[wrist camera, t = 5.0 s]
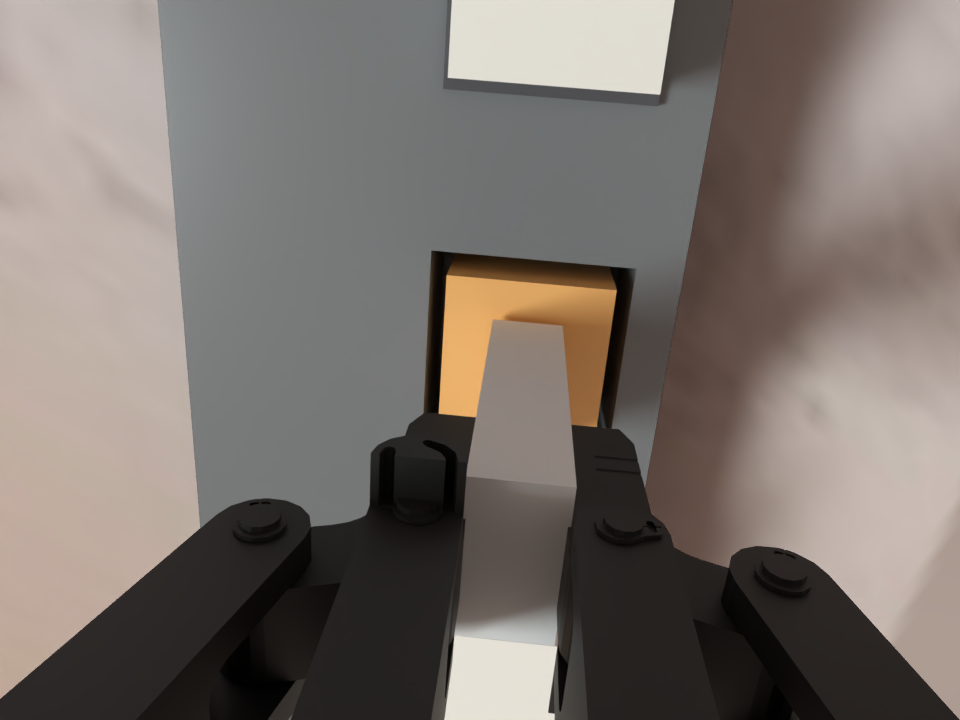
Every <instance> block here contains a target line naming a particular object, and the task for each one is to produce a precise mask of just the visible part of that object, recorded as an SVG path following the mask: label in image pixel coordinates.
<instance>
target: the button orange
mask: <svg viewBox="0 0 960 720" xmlns="http://www.w3.org/2000/svg"><path fill="white" fill-rule="evenodd" d="M616 293H617V290H616V286H615V283H614V280H613V277H612V274H611V271H610V267H609V266H600V265H589V264H578V263H566V262H555V261H544V260H533V259H521V258H510V257H499V256H488V255H477V254H465V253H455V256H454V258H453V261H452V263H451V266H450V268H449V271H448V273H447V278H446V295H445V312H444V330H443V347H442V365H441V382H440V400H439V414H447V415H457V416H467V417H476V414H477V408H478V403H479V397H480V391H481V385H482V379H483V374H484V368H485V362H486V356H487V351H488V345H489V339H490V333H491V328H492V322H493V319H496V320H507V321H518V322H529V323H540V324H550V325H561V326H563V335H564V347H565V358H566V370H567V381H568V393H569V404H570V416H571V425H581V426H591V427H597V422H598V415H599V408H600V401H601V395H602V388H603V381H604V374H605V367H606V361H607V354H608V347H609V340H610V333H611V327H612V320H613V313H614V306H615V299H616Z"/></svg>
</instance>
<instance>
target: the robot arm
mask: <svg viewBox="0 0 960 720" xmlns="http://www.w3.org/2000/svg"><path fill="white" fill-rule="evenodd" d="M556 632H557V636H558V645H557V652H556V659H555V667H554V674H553V681H552V688H551V695H550V702H549V709H548V713H552V714H555V720H959V719H958V718H957V716H956V715H955V714H954V713H953V712H952V711H951V710H950V709H949V708H948V707H947V706H946V704H945V703H944V702H943V701H942V700H941V699H940V698H939V697H938V695H937V694H936V693H935V692H934V691H933V690H932V689H931V688H930V687H929V686H928V684H927V683H926V682H925V681H924V680H923V679H922V678H921V677H920V676H919V674H918V673H917V672H916V671H915V670H914V669H913V668H912V667H911V666H910V665H909V663H908V662H907V661H906V660H905V659H904V658H903V657H902V656H901V654H900V653H899V652H898V651H897V650H896V649H895V648H894V647H893V646H892V644H891V643H890V642H889V641H888V640H887V639H886V638H885V637H884V636H883V635H882V633H881V632H880V631H879V630H878V629H877V628H876V627H875V626H874V625H873V623H872V622H871V621H870V620H869V619H868V618H867V617H866V616H865V615H864V614H863V612H862V611H861V610H860V609H859V608H858V607H857V606H856V605H855V604H854V602H853V601H852V600H851V599H850V598H849V597H848V596H847V595H846V594H845V592H844V591H843V590H842V589H841V588H840V587H839V586H838V585H837V584H836V583H835V581H834V580H833V579H832V578H831V577H830V576H829V575H828V574H827V573H826V572H824V571H823V570H822V569H821V568H820V567H818V566H817V565H816V564H815V563H813V562H811V561H809V560H807V559H806V558H804V557H802V556H800V555H798V554H796V553H793V552H791V551H788V550H784V549H780V548H774V547H761V546H755V547H750V548H745V549H741V550H740V551H738V552H737V553H735V554H734V555H733V556H732V557H731V561H730V565H729V568H726V567H722V566H719V565H716V564H713V563H709V562H706V561H703V560H700V559H697V558H695V557H692V556H689V555H687V554H685V553H683V552H681V551H680V550H678V549H676V548H674V546H673V543H672V539H671V535H670V534H669V532H668V530H667V528H666V527H665V525H664V524H663V523H662V522H660V521H659V520H658V519H657V518H655V517H654V516H653V515H651V511H650V507H649V503H648V499H647V495H646V491H645V487H644V483H643V479H642V476H641V470H640V466H639V463H638V458H637V454H636V450H635V446H634V443H633V442H632V441H631V440H630V439H629V438H628V437H627V436H626V435H625V434H624V433H623V432H621V431H620V430H619V429H611V428H601V427H591V426H581V425H571V416H570V404H569V393H568V381H567V370H566V358H565V347H564V335H563V326H561V325H550V324H540V323H529V322H518V321H507V320H496V319H493V322H492V328H491V333H490V339H489V345H488V351H487V356H486V362H485V368H484V374H483V379H482V385H481V391H480V397H479V403H478V408H477V414H476V417H467V416H457V415H447V414H436V413H426V412H425V413H423V414H422V415H421V416H419V417H418V418H417V419H415V420H414V421H413V422H411V423H410V424H409V426H408V429H407V431H406V434H405V436H401V437H396V438H391V439H389V440H387V441H385V442H383V443H380V444H378V445H377V446H376V448H375V449H374V450H373V451H372V452H371V461H370V505H369V508H368V511H367V513H366V515H365V516H363V517H361V518H359V519H356V520H353V521H350V522H345V523H340V524H334V525H324V526H314V527H311V522H310V515H309V514H308V513H307V512H306V511H305V510H304V509H303V508H302V507H301V506H298V505H296V504H294V503H291V502H289V501H286V500H278V499H271V498H262V499H253V500H248V501H244V502H241V503H238V504H235V505H231V506H230V507H228V508H226V509H225V510H223V511H221V512H220V513H218V514H217V515H215V516H214V517H213V518H212V519H211V520H210V521H208V522H207V523H206V524H205V525H204V526H203V527H201V528H200V529H199V530H198V531H197V532H196V533H194V534H193V535H192V536H191V537H190V538H188V539H187V540H186V541H185V542H184V543H183V544H181V545H180V546H179V547H178V548H177V549H176V550H174V551H173V552H172V553H171V554H170V555H169V556H167V557H166V558H165V559H164V560H163V561H162V562H160V563H159V564H158V565H157V566H156V567H154V568H153V569H152V570H151V571H150V572H149V573H147V574H146V575H145V576H144V577H143V578H142V579H140V580H139V581H138V582H137V583H136V584H135V585H133V586H132V587H131V588H130V589H129V590H128V591H126V592H125V593H124V594H123V595H122V596H120V597H119V598H118V599H117V600H116V601H115V602H113V603H112V604H111V605H110V606H109V607H108V608H106V609H105V610H104V611H103V612H102V613H101V614H99V615H98V616H97V617H96V618H95V619H94V620H92V621H91V622H90V623H89V624H88V625H86V626H85V627H84V628H83V629H82V630H81V631H79V632H78V633H77V634H76V635H75V636H74V637H72V638H71V639H70V640H69V641H68V642H67V643H65V644H64V645H63V646H62V647H61V648H60V649H58V650H57V651H56V652H55V653H54V654H52V655H51V656H50V657H49V658H48V659H47V660H45V661H44V662H43V663H42V664H41V665H40V666H38V667H37V668H36V669H35V670H34V671H33V672H31V673H30V674H29V675H28V676H27V677H26V678H24V679H23V680H22V681H21V682H20V683H18V684H17V685H16V686H15V687H14V688H13V689H11V690H10V691H9V692H8V693H7V694H6V695H4V696H3V697H2V698H1V699H0V720H289V718H290V717H291V715H292V717H291V720H444V719H445V711H446V704H447V697H448V690H449V682H450V675H451V668H452V660H453V647H454V635H457V636H466V637H475V638H484V639H493V640H503V641H512V642H521V643H530V644H539V645H548V646H555V639H556Z"/></svg>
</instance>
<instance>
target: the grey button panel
mask: <svg viewBox="0 0 960 720" xmlns="http://www.w3.org/2000/svg"><path fill="white" fill-rule="evenodd" d="M732 3H733V0H158V11H159V24H160V36H161V48H162V61H163V73H164V85H165V98H166V110H167V122H168V135H169V147H170V159H171V172H172V184H173V196H174V209H175V221H176V233H177V246H178V258H179V270H180V282H181V295H182V307H183V319H184V332H185V344H186V356H187V369H188V381H189V393H190V406H191V418H192V430H193V443H194V455H195V467H196V480H197V492H198V504H199V517H200V528H201V527H203V526H204V525H205V524H206V523H207V522H208V521H210V520H211V519H212V518H213V517H214V516H215V515H217V514H218V513H220V512H221V511H223V510H225V509H226V508H228V507H230V506H231V505H235V504H238V503H241V502H244V501H248V500H253V499H262V498H271V499H278V500H286V501H289V502H291V503H294V504H296V505H298V506H301V507H302V508H303V509H304V510H305V511H306V512H307V513H308V514H309V515H310V522H311V527H314V526H324V525H334V524H340V523H345V522H350V521H353V520H356V519H359V518H361V517H363V516H365V515H366V513H367V511H368V508H369V505H370V461H371V452H372V451H373V450H374V449H375V448H376V446H377V445H378V444H380V443H383V442H385V441H387V440H389V439H391V438H396V437H401V436H405V434H406V431H407V429H408V426H409V424H410V423H411V422H413V421H414V420H415V419H417V418H418V417H419V416H421V415H422V414H423V413H425V412H426V413H436V414H439V400H440V382H441V365H442V347H443V330H444V312H445V295H446V278H447V273H448V271H449V268H450V266H451V263H452V261H453V258H454V256H455V253H465V254H477V255H488V256H499V257H510V258H521V259H533V260H544V261H555V262H566V263H578V264H589V265H600V266H609V267H610V271H611V274H612V277H613V280H614V283H615V286H616V290H617V293H616V299H615V306H614V313H613V320H612V327H611V333H610V340H609V347H608V354H607V361H606V367H605V374H604V381H603V388H602V395H601V401H600V408H599V415H598V422H597V427H601V428H611V429H619V430H620V431H621V432H623V433H624V434H625V435H626V436H627V437H628V438H629V439H630V440H631V441H632V442H633V443H634V446H635V450H636V454H637V458H638V463H639V466H640V470H641V476H642V479H643V483H644V487H645V485H646V480H647V474H648V469H649V463H650V458H651V452H652V447H653V441H654V436H655V430H656V424H657V419H658V413H659V408H660V402H661V397H662V391H663V386H664V380H665V375H666V369H667V364H668V358H669V352H670V347H671V341H672V336H673V330H674V325H675V319H676V314H677V308H678V303H679V297H680V291H681V286H682V280H683V275H684V269H685V264H686V258H687V253H688V247H689V242H690V236H691V231H692V225H693V219H694V214H695V208H696V203H697V197H698V192H699V186H700V181H701V175H702V170H703V164H704V159H705V153H706V147H707V142H708V136H709V131H710V125H711V120H712V114H713V109H714V103H715V98H716V92H717V86H718V81H719V75H720V70H721V64H722V59H723V53H724V48H725V42H726V37H727V31H728V26H729V20H730V14H731V9H732ZM557 645H558V636H557V632H556V639H555V646H548V645H539V644H530V643H521V642H512V641H503V640H493V639H484V638H475V637H466V636H457V635H454V647H453V660H452V668H451V675H450V682H449V690H448V697H447V704H446V711H445V719H444V720H555V714H552V713H548V709H549V702H550V695H551V688H552V681H553V674H554V667H555V659H556V652H557ZM291 717H292V715H291ZM291 717H290V718H289V720H291Z"/></svg>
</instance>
